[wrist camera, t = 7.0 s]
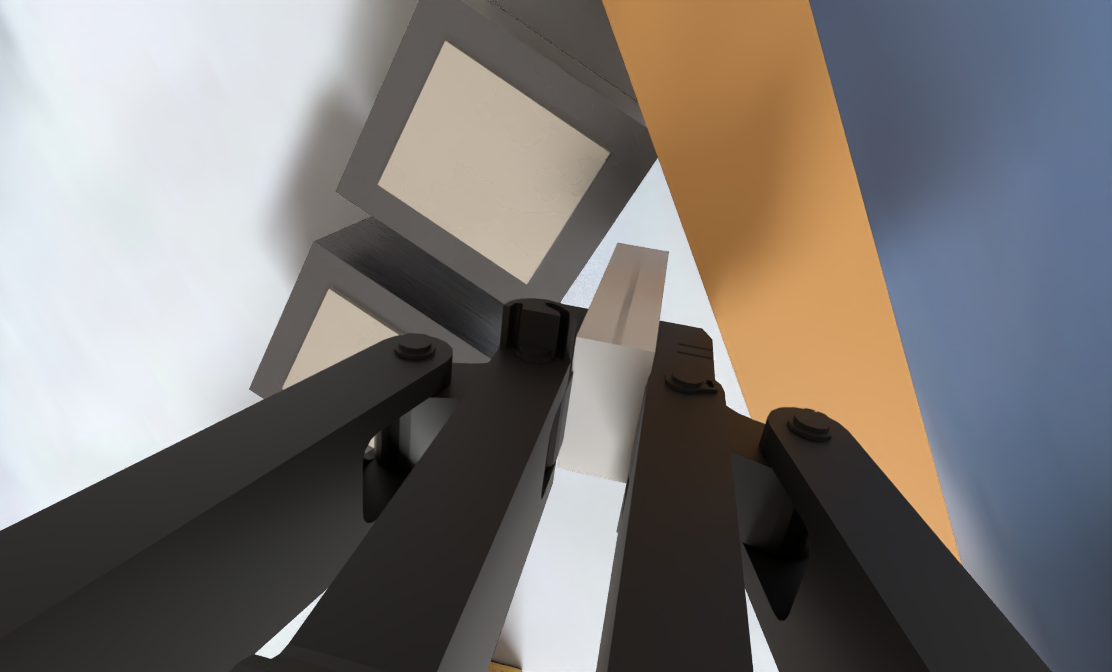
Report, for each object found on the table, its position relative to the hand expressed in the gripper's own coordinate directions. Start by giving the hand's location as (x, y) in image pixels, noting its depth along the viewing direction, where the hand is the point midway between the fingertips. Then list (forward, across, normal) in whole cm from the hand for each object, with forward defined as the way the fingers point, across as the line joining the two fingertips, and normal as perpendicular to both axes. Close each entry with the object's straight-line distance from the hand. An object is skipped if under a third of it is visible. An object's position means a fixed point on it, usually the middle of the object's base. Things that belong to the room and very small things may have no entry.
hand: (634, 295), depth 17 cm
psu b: (+8, +9, +6) cm, 13 cm away
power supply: (+8, +5, -2) cm, 9 cm away
